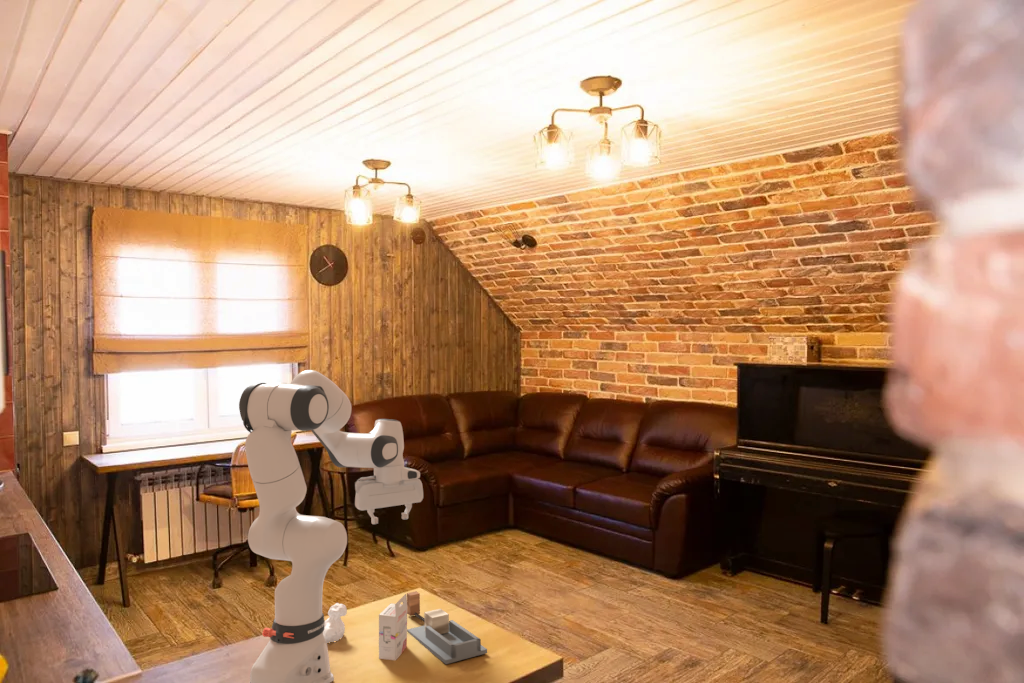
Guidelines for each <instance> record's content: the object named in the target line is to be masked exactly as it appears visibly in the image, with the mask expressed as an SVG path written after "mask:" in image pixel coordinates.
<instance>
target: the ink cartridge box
mask: <svg viewBox="0 0 1024 683" xmlns="http://www.w3.org/2000/svg"><path fill="white" fill-rule="evenodd" d="M407 629H408V614H407V593H406V594H404V595H403V596H402V597H401V598H400V599H399V600H398V601H397V602H396V603H393V602H392V603H389V605H388V606H386V608H384V609H383V610H382V611H381V612H380V613H379V615H378V659H382V660H390V661H397V660H398V659H399V657H400V656H401V655H402V654H403V652H404V651H405V649H406V648H407V646H408V645H407V644H408V643H407V642H408V640H407V639H408V636H407V635H408V632H407Z"/></svg>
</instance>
